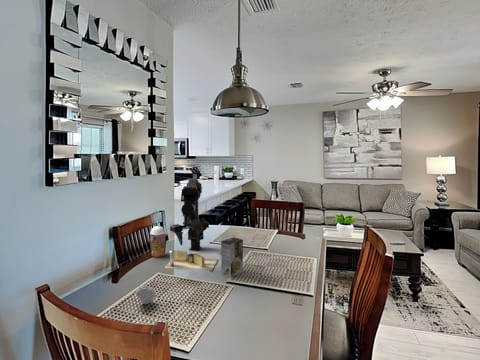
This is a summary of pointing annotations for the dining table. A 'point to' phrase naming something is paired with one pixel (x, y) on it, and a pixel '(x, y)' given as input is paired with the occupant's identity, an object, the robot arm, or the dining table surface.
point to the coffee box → (231, 257)
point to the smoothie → (157, 241)
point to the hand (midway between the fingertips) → (190, 243)
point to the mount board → (194, 265)
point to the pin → (171, 257)
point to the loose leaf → (199, 260)
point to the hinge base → (183, 256)
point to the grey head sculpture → (145, 294)
